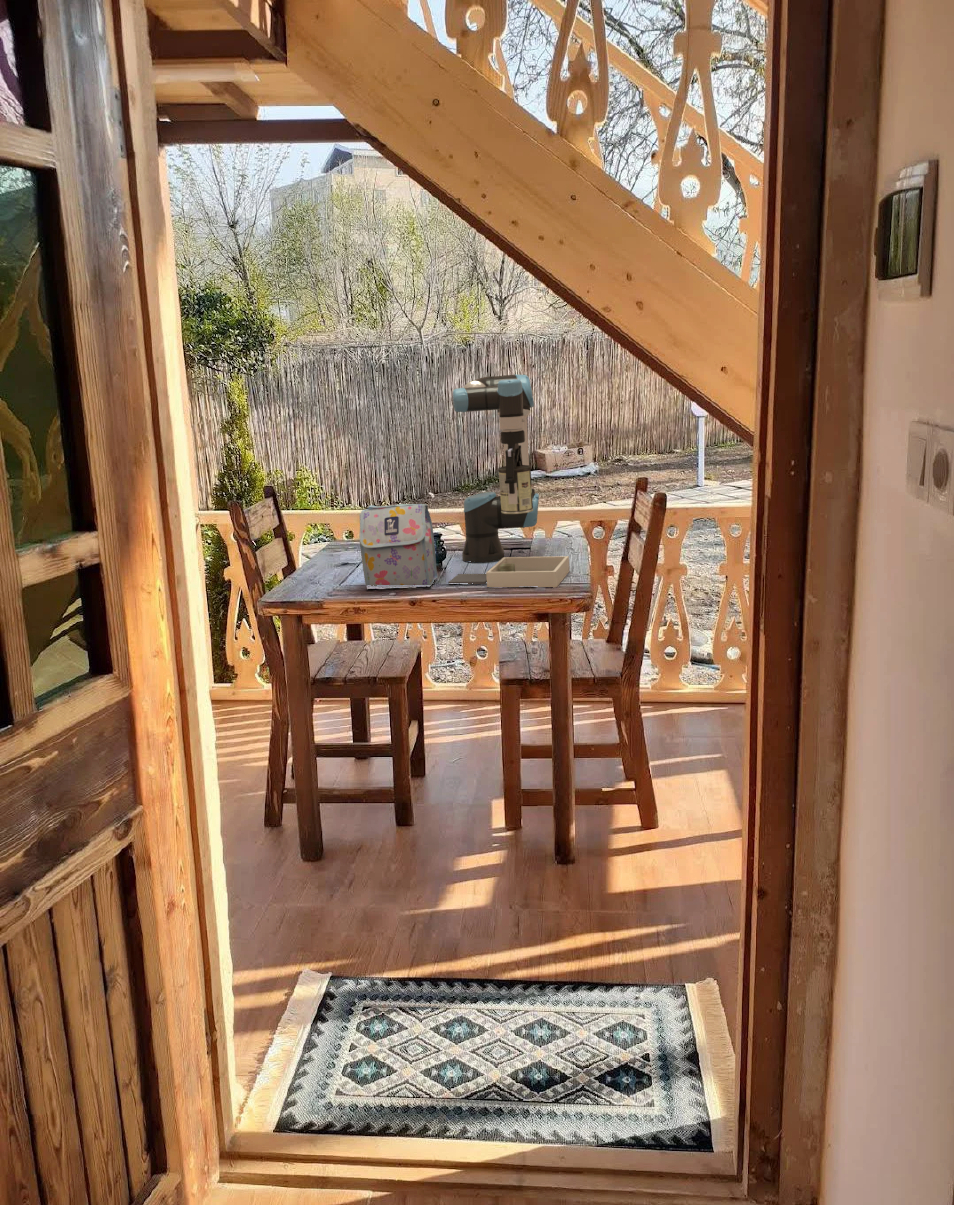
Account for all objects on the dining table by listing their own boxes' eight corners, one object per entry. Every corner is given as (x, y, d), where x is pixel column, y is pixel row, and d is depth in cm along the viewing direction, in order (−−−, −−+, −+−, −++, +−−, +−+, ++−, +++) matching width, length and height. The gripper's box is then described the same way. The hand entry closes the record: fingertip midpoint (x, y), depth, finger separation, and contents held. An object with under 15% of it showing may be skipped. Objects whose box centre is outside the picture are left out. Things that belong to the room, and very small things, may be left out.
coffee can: (509, 508, 334) (507, 464, 331) (538, 509, 329) (536, 464, 326) (495, 513, 326) (492, 469, 322) (524, 514, 321) (521, 469, 317)
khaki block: (500, 581, 332) (499, 566, 331) (503, 578, 336) (502, 563, 335) (512, 581, 331) (512, 565, 330) (515, 578, 335) (514, 563, 334)
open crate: (487, 588, 323) (486, 572, 322) (504, 571, 346) (503, 557, 345) (556, 587, 318) (555, 571, 316) (569, 571, 340) (568, 556, 339)
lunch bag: (360, 593, 328) (352, 510, 322) (372, 581, 345) (365, 502, 338) (429, 590, 325) (423, 507, 319) (439, 579, 341) (432, 499, 335)
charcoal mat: (448, 584, 332) (448, 581, 331) (458, 576, 343) (458, 573, 343) (484, 584, 328) (484, 581, 328) (493, 576, 340) (493, 573, 340)
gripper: (517, 433, 310) (521, 506, 315) (530, 426, 331) (534, 495, 337) (493, 434, 312) (497, 507, 317) (507, 427, 333) (511, 496, 338)
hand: (516, 501), depth 327 cm, fingers closed on coffee can, 10 cm apart
